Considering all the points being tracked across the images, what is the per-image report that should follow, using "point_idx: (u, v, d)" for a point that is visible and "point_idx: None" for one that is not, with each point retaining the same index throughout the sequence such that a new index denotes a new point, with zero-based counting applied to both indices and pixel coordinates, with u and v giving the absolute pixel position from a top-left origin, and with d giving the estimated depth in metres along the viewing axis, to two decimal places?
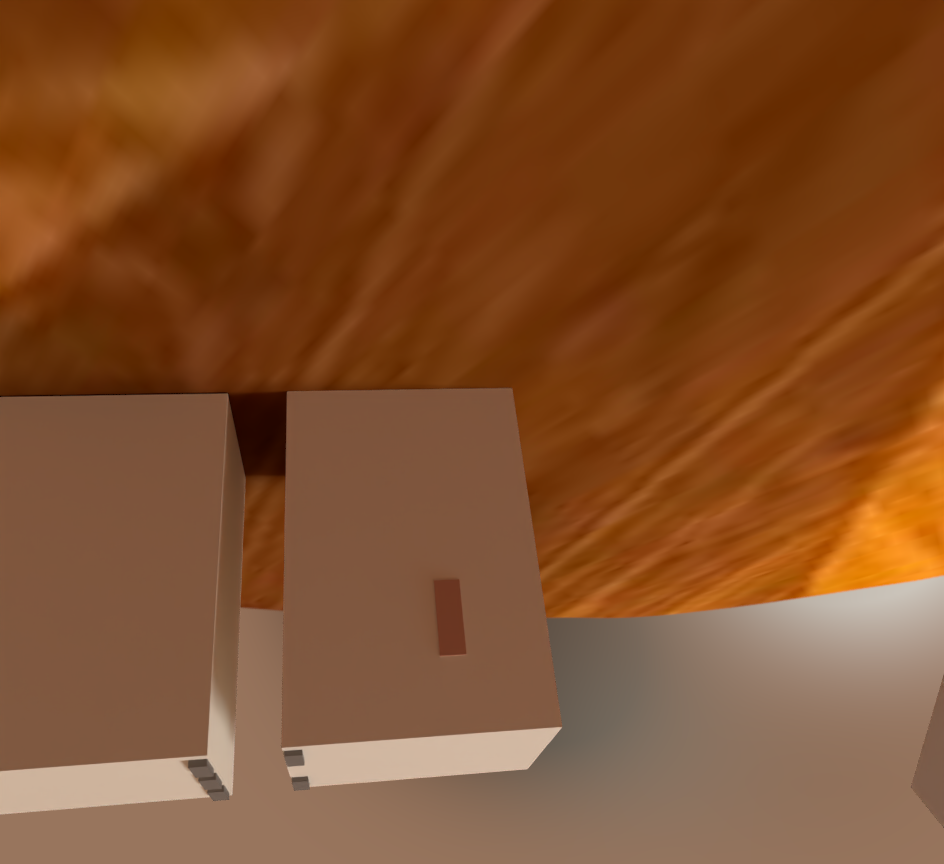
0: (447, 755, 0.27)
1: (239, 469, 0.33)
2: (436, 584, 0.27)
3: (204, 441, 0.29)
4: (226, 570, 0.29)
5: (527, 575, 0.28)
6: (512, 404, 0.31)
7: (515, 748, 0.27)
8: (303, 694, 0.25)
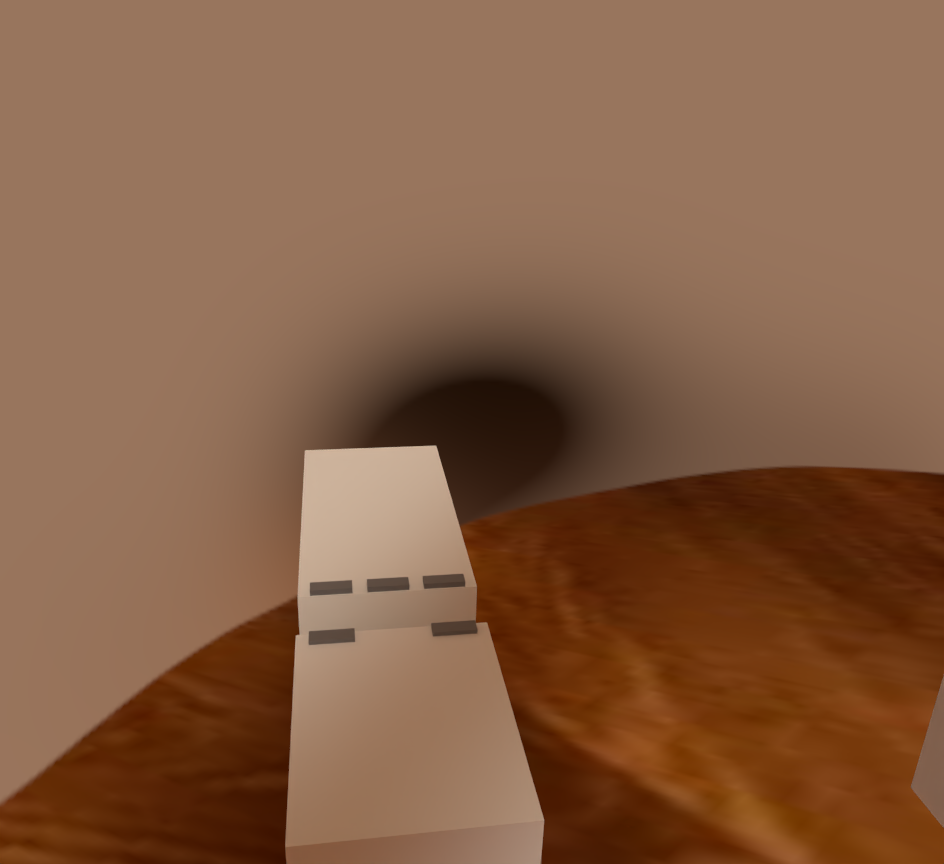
0: (416, 737, 0.23)
1: None
2: None
3: None
4: None
5: None
6: None
7: (435, 798, 0.21)
8: None
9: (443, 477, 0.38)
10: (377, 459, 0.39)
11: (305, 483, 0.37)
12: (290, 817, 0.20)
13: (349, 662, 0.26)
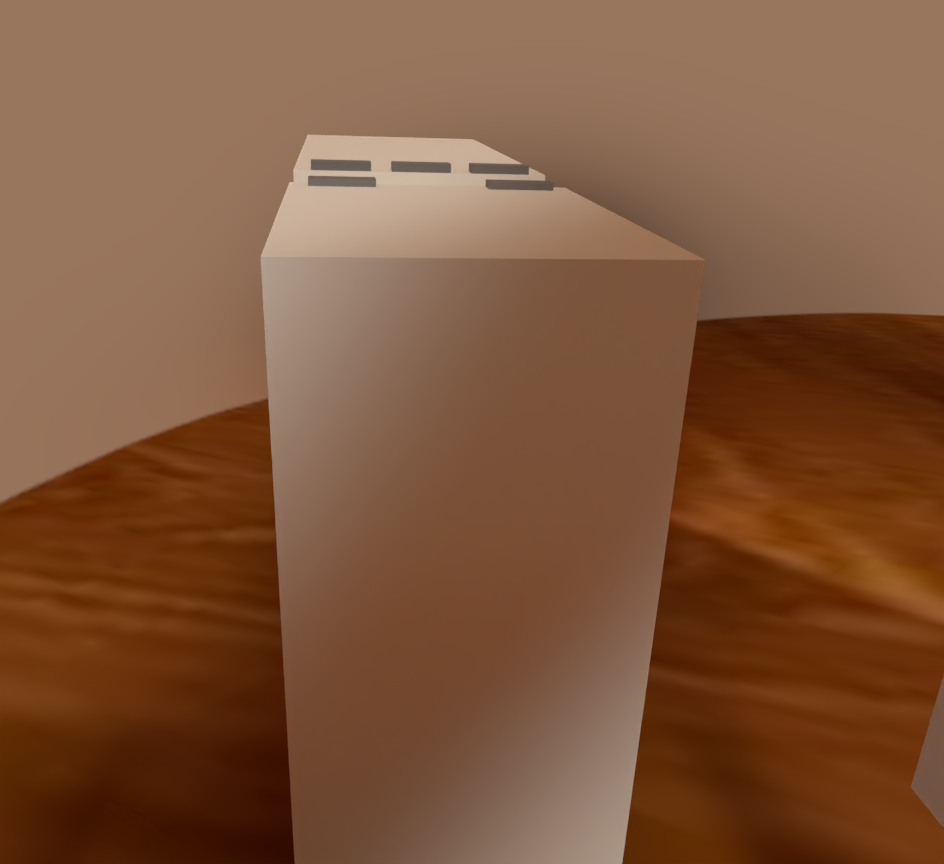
0: (476, 221, 0.14)
1: None
2: None
3: None
4: None
5: None
6: (621, 858, 0.16)
7: (515, 245, 0.13)
8: None
9: (485, 146, 0.29)
10: (400, 140, 0.31)
11: (307, 142, 0.28)
12: (272, 245, 0.12)
13: (368, 193, 0.17)
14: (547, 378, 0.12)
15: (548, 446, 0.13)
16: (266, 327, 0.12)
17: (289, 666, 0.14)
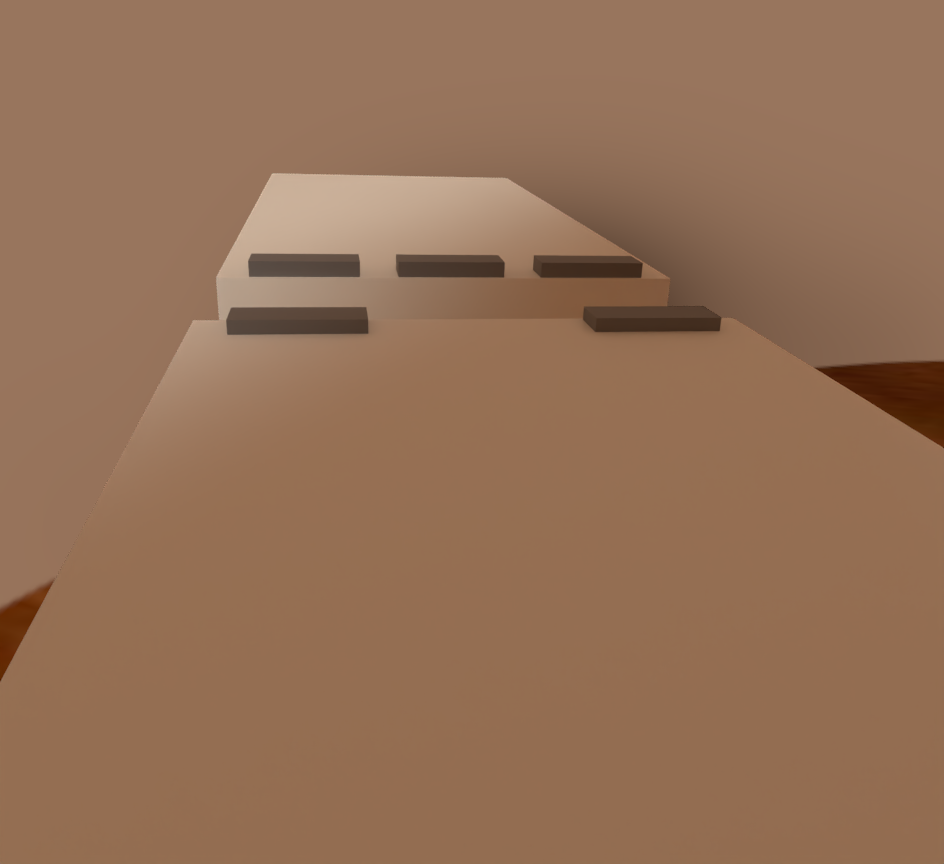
0: (646, 536, 0.05)
1: None
2: None
3: None
4: None
5: None
6: None
7: (900, 810, 0.03)
8: None
9: (531, 195, 0.20)
10: (404, 181, 0.21)
11: (266, 191, 0.19)
12: None
13: (351, 364, 0.08)
14: None
15: None
16: None
17: None
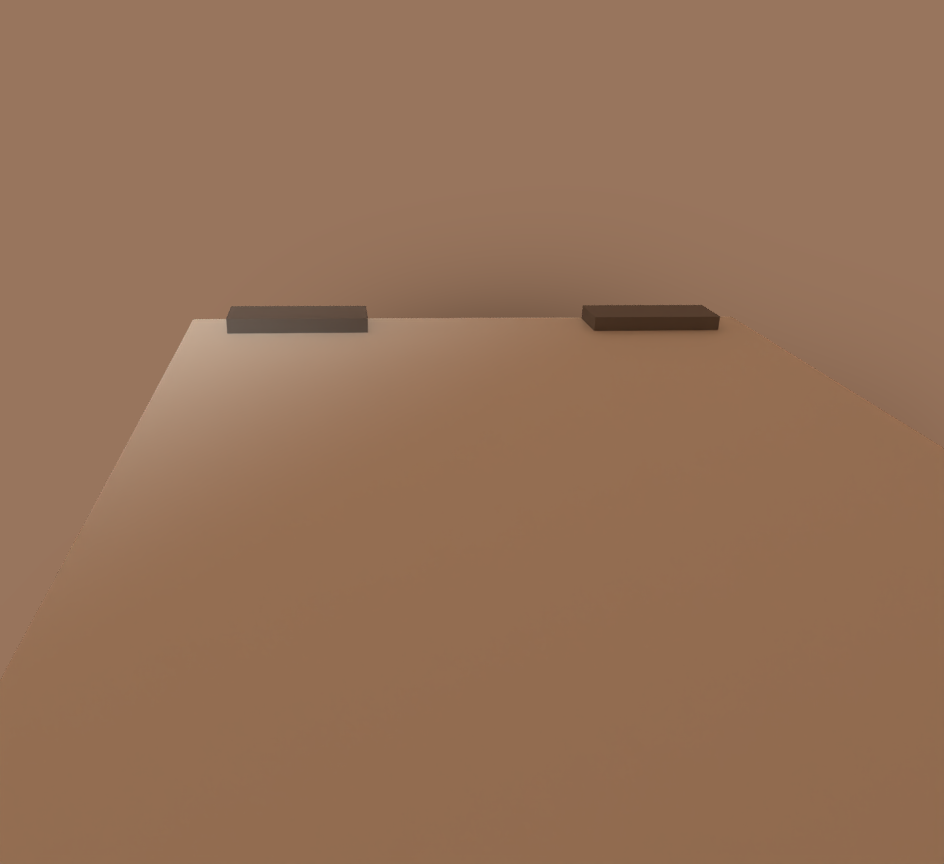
0: (644, 533, 0.05)
1: None
2: None
3: None
4: None
5: None
6: None
7: (894, 802, 0.03)
8: None
9: None
10: None
11: None
12: None
13: (351, 362, 0.08)
14: None
15: None
16: None
17: None
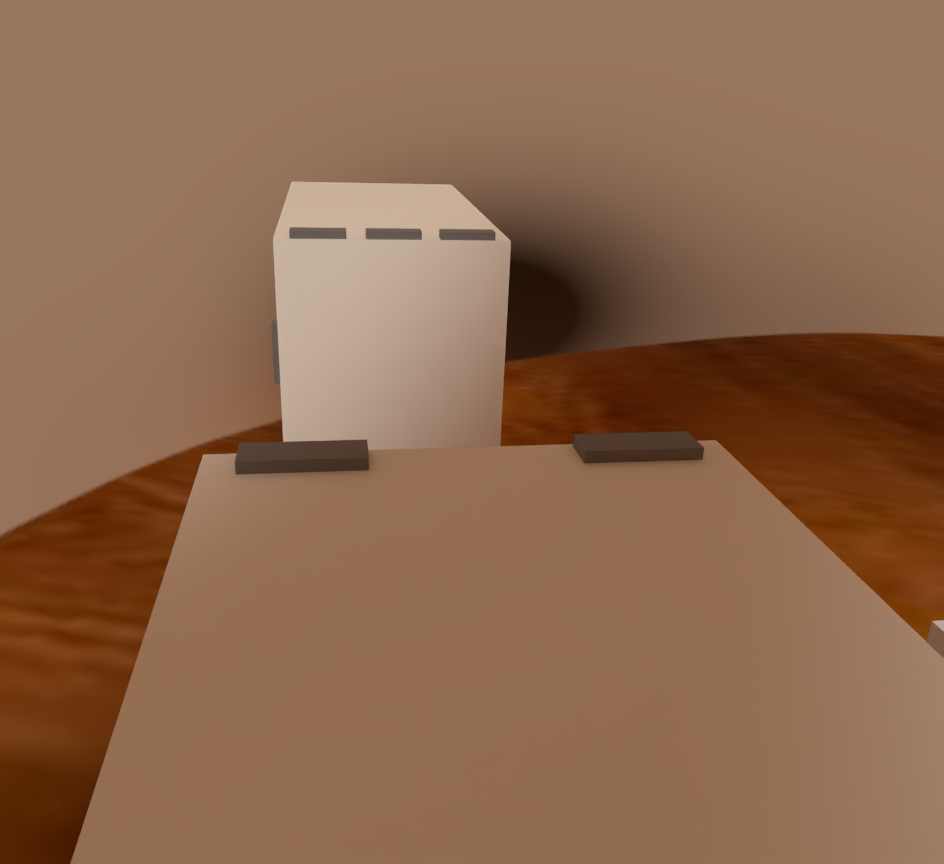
0: (622, 743, 0.06)
1: None
2: None
3: None
4: None
5: None
6: None
7: None
8: None
9: (461, 196, 0.30)
10: (380, 187, 0.32)
11: (290, 194, 0.29)
12: None
13: (353, 513, 0.09)
14: None
15: None
16: None
17: None
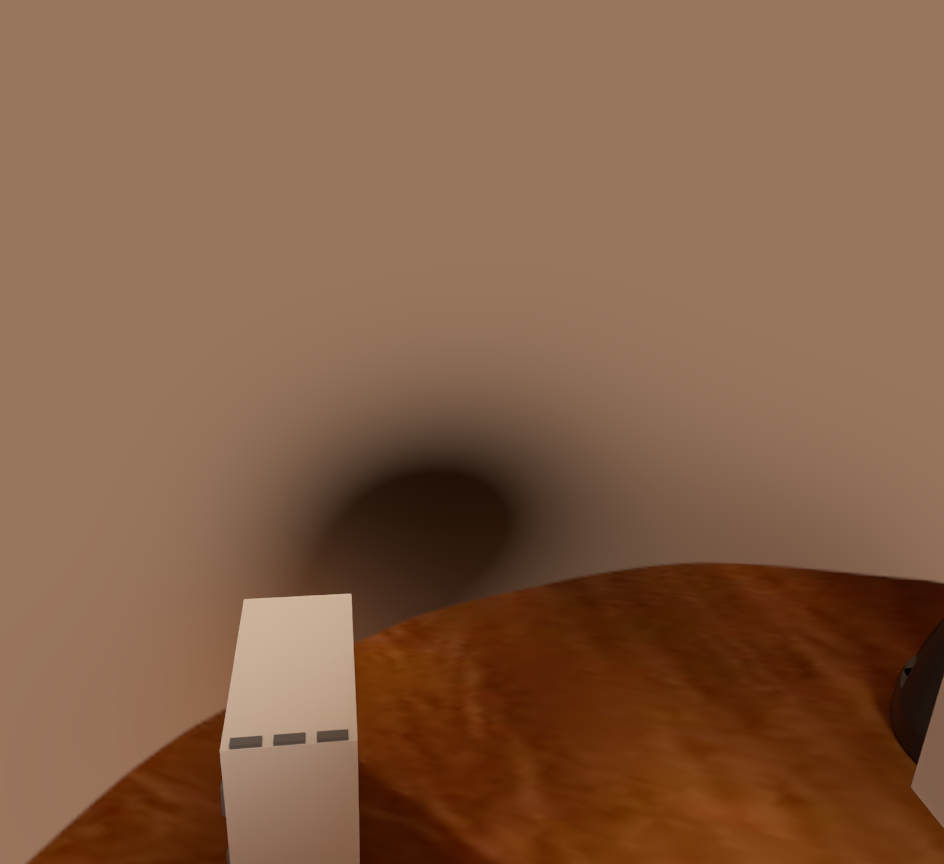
0: None
1: None
2: None
3: None
4: (318, 848, 0.41)
5: None
6: None
7: None
8: None
9: (351, 628, 0.47)
10: (301, 609, 0.48)
11: (239, 635, 0.46)
12: None
13: None
14: None
15: None
16: None
17: None
